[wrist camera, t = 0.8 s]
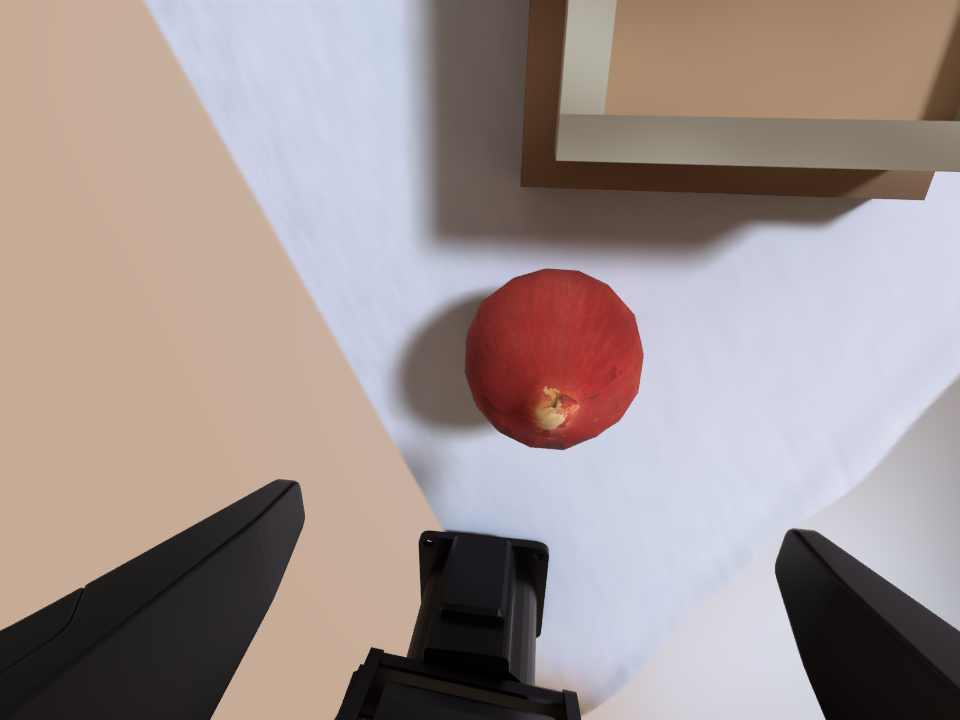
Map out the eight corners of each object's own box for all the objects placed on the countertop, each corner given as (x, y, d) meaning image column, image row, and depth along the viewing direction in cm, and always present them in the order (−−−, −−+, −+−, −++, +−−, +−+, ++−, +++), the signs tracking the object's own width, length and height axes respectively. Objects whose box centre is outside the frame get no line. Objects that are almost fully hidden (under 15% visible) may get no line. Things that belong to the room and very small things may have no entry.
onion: (613, 390, 21) (647, 528, 14) (477, 378, 21) (441, 504, 14) (636, 252, 18) (693, 330, 11) (482, 243, 19) (441, 311, 12)
